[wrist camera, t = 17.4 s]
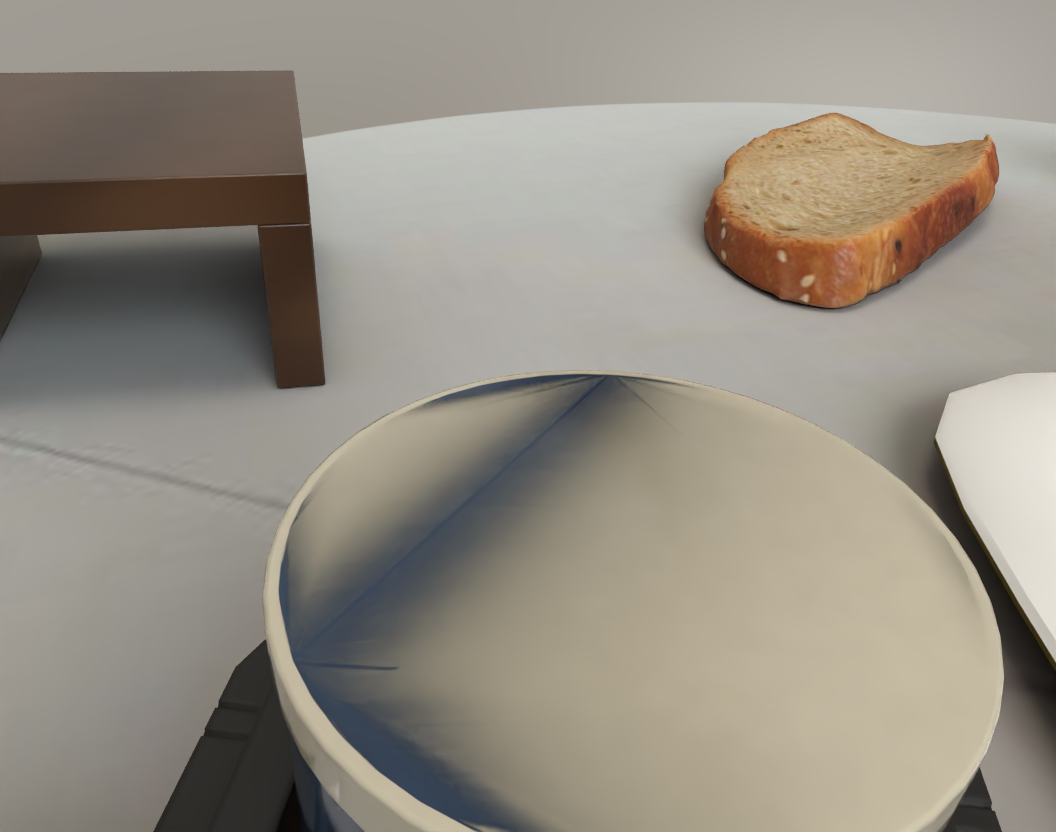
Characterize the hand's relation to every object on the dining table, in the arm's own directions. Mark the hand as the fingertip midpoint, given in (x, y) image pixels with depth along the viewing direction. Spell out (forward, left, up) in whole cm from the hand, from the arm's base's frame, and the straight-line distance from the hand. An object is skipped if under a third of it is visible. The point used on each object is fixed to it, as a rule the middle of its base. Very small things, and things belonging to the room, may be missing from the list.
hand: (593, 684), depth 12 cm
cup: (-1, -2, -5) cm, 6 cm away
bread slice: (+23, +29, -6) cm, 37 cm away
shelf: (-9, +24, -6) cm, 26 cm away
